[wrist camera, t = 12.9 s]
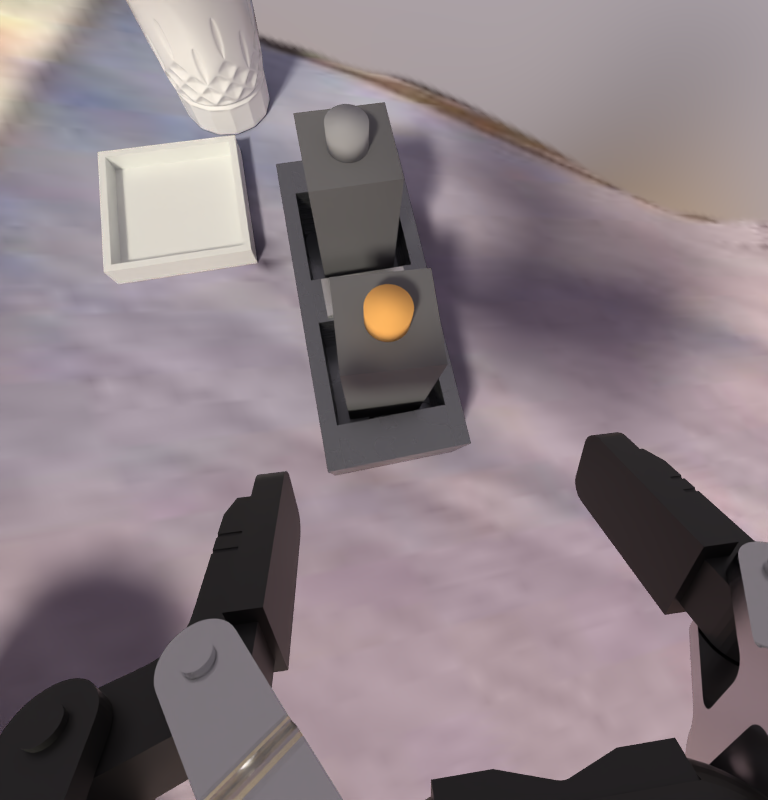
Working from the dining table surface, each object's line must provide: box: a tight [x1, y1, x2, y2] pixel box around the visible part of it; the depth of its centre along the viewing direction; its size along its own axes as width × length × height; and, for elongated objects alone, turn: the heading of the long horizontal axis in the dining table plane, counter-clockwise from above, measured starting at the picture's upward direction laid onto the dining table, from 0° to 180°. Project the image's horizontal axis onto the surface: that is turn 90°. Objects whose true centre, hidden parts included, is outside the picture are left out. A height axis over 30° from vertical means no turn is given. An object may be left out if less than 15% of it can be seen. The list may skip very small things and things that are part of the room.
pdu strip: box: [276, 148, 471, 475], centre depth 26 cm, size 8×20×5 cm, turn 11°
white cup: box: [126, 0, 270, 135], centre depth 27 cm, size 8×8×10 cm
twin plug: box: [293, 102, 404, 278], centre depth 23 cm, size 4×4×11 cm
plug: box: [329, 268, 448, 419], centre depth 21 cm, size 4×4×11 cm
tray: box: [98, 135, 257, 284], centre depth 29 cm, size 10×10×2 cm
